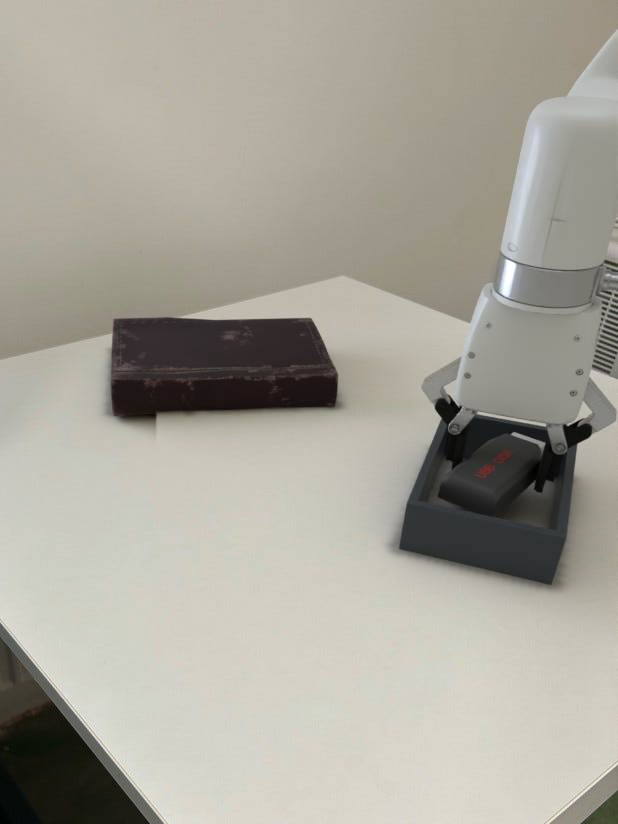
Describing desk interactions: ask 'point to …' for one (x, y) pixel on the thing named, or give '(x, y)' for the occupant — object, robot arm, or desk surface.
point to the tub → (480, 534)
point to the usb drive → (493, 474)
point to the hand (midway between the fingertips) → (497, 474)
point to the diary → (218, 365)
